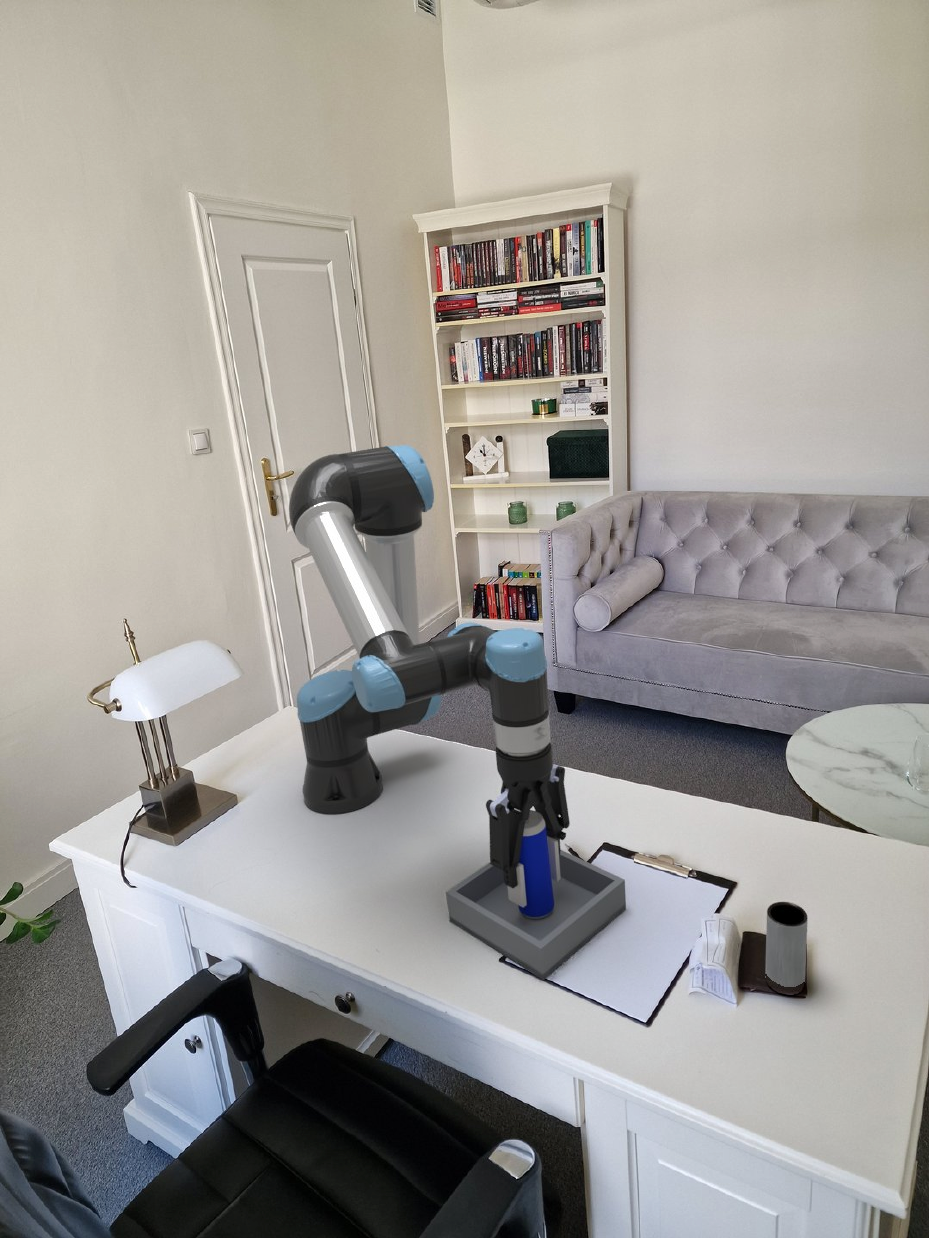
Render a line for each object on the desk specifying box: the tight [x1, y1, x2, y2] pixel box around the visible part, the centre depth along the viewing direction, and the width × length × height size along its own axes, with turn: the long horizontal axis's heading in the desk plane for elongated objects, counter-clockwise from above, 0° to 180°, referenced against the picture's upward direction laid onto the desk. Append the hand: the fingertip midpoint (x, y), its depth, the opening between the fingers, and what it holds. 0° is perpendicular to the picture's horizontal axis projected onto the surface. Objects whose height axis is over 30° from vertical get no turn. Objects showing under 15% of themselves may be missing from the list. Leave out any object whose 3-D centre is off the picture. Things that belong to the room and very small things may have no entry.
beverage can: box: [518, 809, 554, 919], centre depth 114 cm, size 5×5×15 cm
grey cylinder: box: [765, 901, 809, 987], centre depth 98 cm, size 4×4×10 cm
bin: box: [445, 849, 627, 981], centre depth 115 cm, size 18×18×5 cm
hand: (535, 888), depth 115 cm, fingers open, 7 cm apart
